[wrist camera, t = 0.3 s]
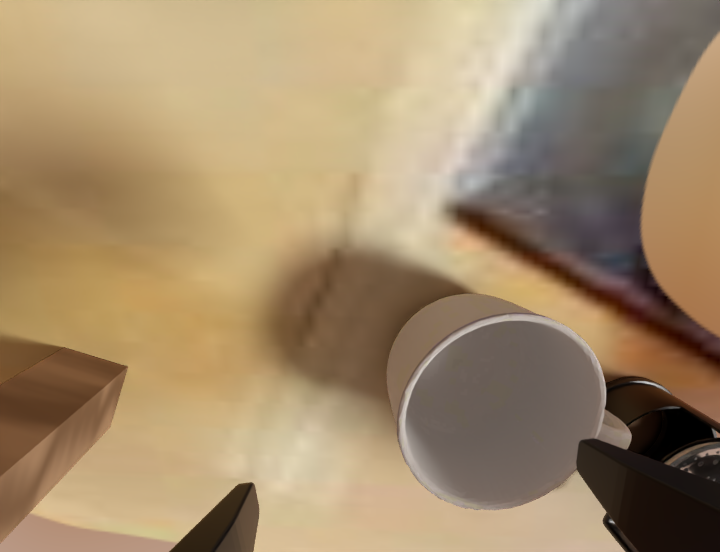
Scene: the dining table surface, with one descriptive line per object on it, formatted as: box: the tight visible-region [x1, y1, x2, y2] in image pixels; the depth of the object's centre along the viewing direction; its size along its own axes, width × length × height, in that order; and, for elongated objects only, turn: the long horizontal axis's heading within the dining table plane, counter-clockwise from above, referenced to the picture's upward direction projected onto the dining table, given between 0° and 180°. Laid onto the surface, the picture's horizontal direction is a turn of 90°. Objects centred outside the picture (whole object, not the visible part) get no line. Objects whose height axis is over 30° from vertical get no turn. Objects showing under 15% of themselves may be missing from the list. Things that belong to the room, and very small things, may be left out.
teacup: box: [387, 294, 632, 510], centre depth 20 cm, size 14×11×8 cm
